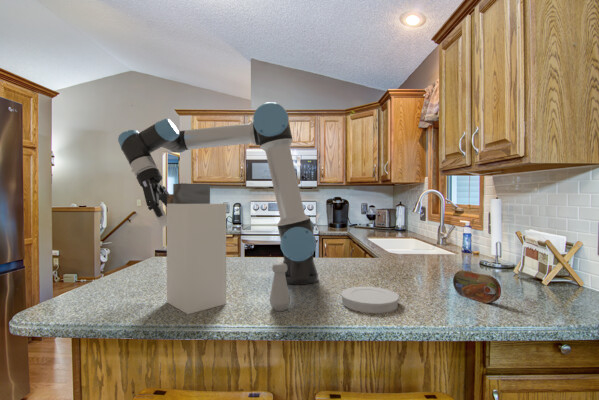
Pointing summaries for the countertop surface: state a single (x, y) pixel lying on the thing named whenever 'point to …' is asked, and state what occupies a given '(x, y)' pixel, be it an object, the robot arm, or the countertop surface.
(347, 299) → the lid
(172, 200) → the panel with wooden post
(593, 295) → the countertop surface
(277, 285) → the salt shaker
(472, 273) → the tin
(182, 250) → the pedestal
